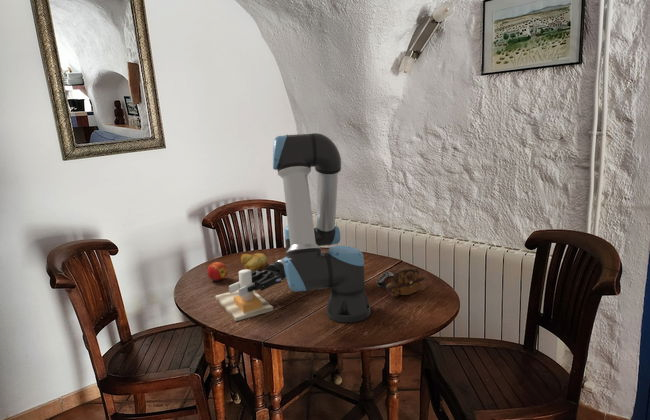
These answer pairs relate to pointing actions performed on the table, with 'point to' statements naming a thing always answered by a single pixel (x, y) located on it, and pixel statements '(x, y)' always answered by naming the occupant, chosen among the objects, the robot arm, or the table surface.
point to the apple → (217, 271)
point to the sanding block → (249, 299)
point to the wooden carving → (405, 282)
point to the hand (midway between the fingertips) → (234, 291)
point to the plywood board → (234, 311)
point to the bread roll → (254, 261)
